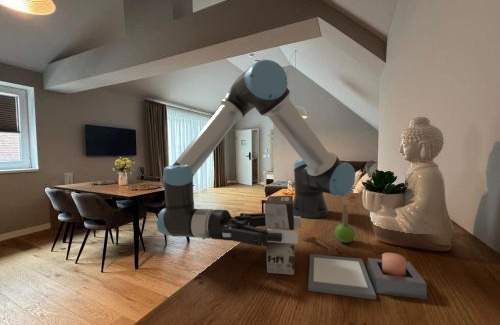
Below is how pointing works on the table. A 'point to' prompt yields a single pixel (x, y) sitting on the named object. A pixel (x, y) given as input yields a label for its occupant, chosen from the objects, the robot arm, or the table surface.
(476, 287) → the table surface
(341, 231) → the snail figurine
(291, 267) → the coffee box
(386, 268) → the button
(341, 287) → the drawing board
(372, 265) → the button housing
